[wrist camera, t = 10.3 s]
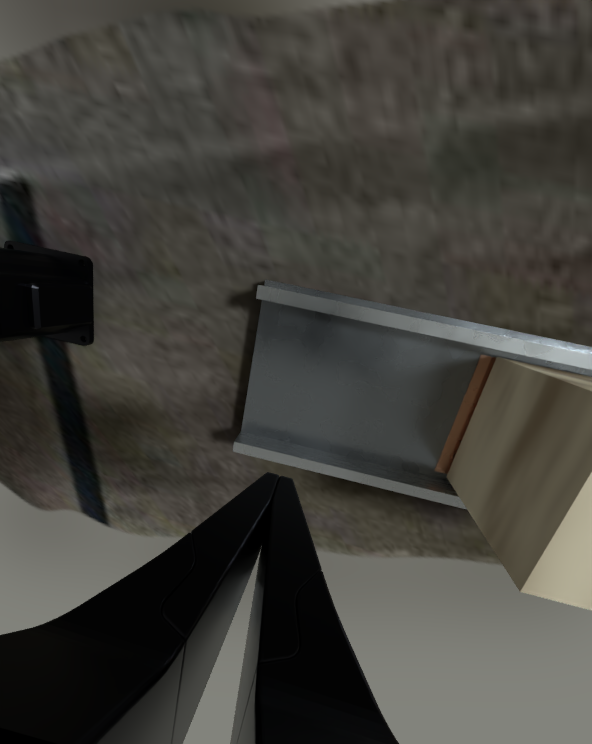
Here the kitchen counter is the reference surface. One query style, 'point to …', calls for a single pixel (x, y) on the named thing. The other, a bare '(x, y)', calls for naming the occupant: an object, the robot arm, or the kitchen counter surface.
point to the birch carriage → (532, 477)
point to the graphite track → (374, 387)
